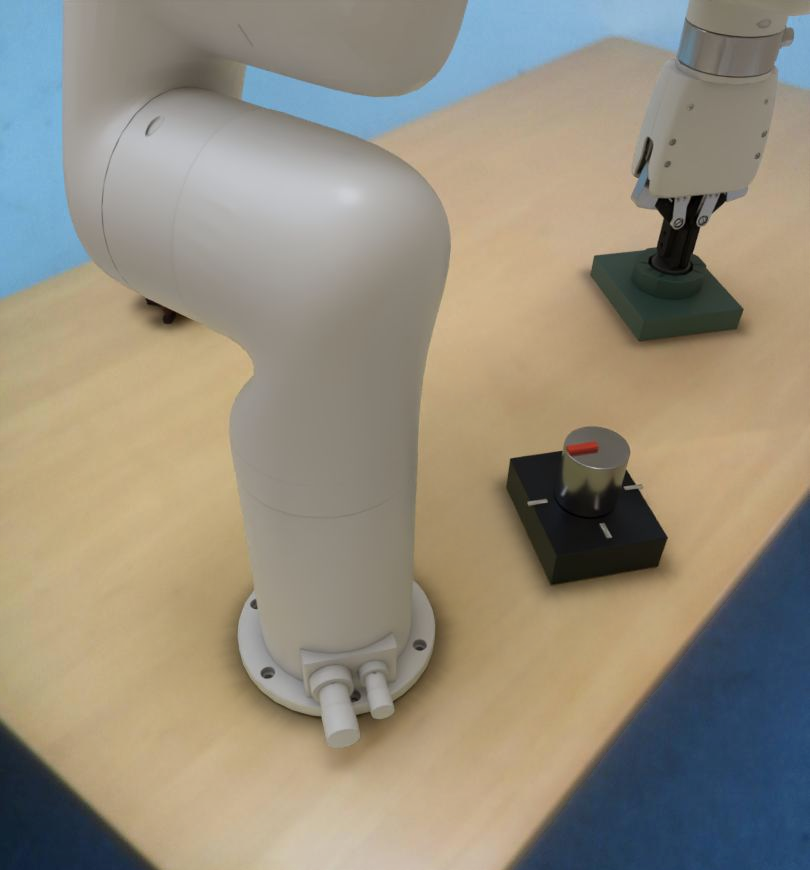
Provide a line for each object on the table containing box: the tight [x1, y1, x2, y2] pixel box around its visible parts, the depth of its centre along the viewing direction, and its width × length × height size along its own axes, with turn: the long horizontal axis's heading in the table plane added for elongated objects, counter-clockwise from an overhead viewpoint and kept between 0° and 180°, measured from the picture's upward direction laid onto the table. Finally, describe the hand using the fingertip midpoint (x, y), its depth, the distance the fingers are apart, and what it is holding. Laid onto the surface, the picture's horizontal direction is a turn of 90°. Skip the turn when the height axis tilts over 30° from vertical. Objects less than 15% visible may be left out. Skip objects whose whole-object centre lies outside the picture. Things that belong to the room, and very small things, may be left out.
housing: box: [590, 246, 744, 342], centre depth 83 cm, size 12×10×4 cm
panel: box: [505, 450, 669, 586], centre depth 63 cm, size 10×9×3 cm
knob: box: [555, 425, 631, 517], centre depth 60 cm, size 4×4×5 cm
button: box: [650, 254, 691, 276], centre depth 82 cm, size 4×4×2 cm
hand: (671, 261), depth 82 cm, fingers closed
